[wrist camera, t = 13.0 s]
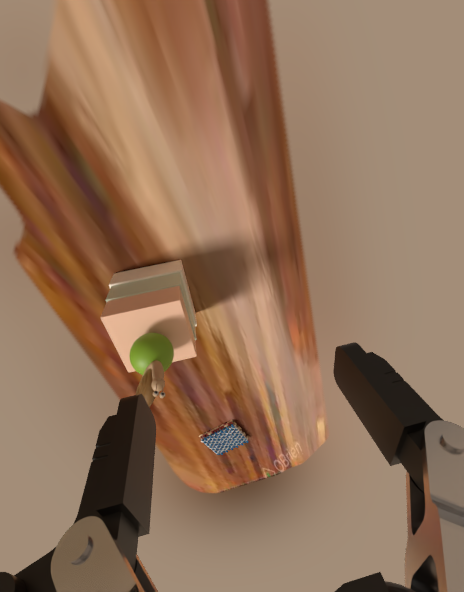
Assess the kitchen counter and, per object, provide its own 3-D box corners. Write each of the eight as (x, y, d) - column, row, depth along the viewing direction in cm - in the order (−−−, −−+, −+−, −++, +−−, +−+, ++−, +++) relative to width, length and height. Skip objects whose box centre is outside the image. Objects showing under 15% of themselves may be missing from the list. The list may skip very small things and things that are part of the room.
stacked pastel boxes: (114, 273, 43) (94, 315, 32) (181, 259, 44) (182, 296, 33) (136, 326, 48) (126, 375, 38) (195, 313, 49) (200, 357, 39)
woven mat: (232, 416, 68) (233, 423, 66) (249, 435, 74) (251, 442, 72) (197, 433, 69) (198, 441, 67) (216, 450, 75) (217, 457, 73)
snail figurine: (183, 326, 36) (186, 400, 26) (164, 359, 38) (160, 439, 28) (144, 313, 34) (131, 388, 23) (126, 349, 36) (107, 431, 26)
